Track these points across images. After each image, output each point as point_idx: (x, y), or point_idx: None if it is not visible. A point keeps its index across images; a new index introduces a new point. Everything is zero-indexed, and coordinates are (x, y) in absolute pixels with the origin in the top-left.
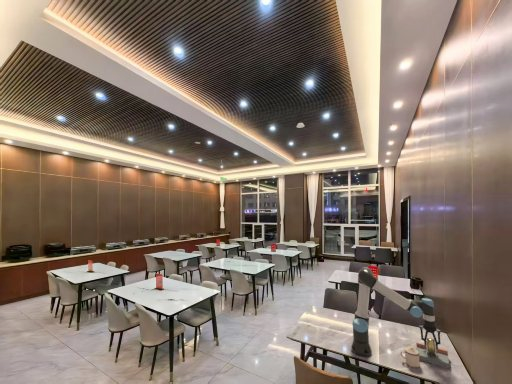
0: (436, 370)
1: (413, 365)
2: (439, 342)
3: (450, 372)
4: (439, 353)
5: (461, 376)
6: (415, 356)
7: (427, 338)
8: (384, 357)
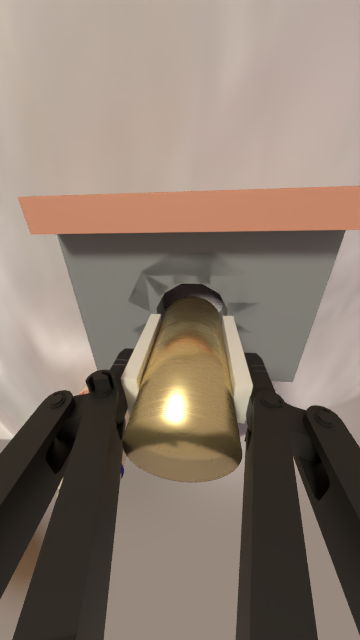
0: None
1: None
2: (317, 476)
3: (276, 385)
4: (260, 253)
5: (323, 392)
6: None
7: (130, 447)
8: (8, 408)
